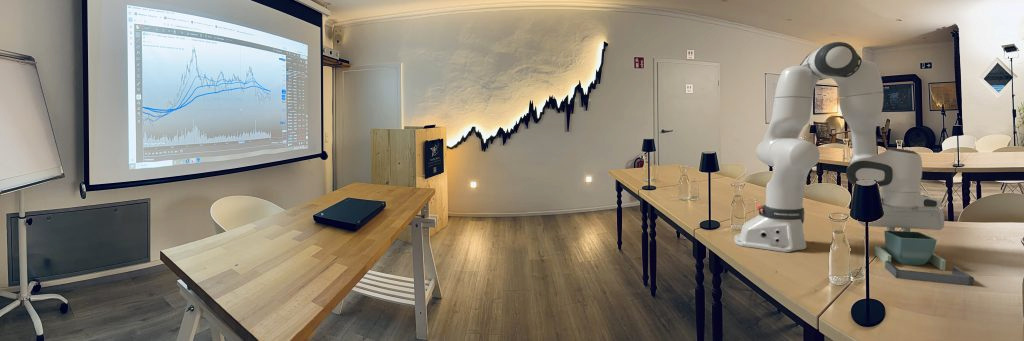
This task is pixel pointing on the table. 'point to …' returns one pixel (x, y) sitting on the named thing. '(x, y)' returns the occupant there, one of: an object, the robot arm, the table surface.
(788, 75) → the robot arm
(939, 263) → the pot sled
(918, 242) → the flower pot
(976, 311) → the table surface
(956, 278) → the frame
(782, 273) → the table surface
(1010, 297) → the table surface
